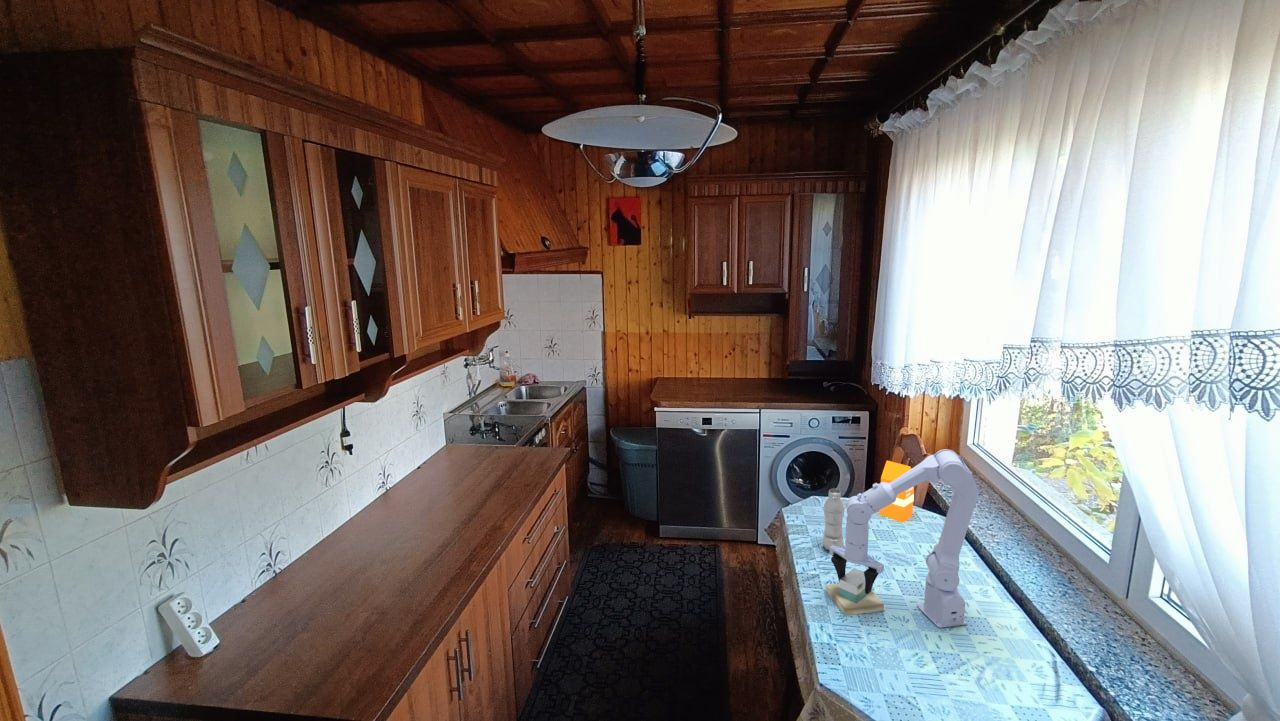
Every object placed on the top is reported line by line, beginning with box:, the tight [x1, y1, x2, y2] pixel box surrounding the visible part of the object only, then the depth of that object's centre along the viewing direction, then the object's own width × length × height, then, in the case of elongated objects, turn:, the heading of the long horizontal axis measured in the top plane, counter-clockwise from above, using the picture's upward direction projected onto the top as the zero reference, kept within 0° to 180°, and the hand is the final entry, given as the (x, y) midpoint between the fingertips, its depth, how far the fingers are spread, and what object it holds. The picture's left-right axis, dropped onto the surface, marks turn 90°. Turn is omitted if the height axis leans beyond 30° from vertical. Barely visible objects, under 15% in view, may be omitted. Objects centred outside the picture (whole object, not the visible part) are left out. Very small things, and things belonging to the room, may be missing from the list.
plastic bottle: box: [822, 488, 846, 552], centre depth 179 cm, size 6×7×20 cm
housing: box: [839, 567, 867, 604], centre depth 153 cm, size 8×5×5 cm, turn 132°
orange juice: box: [878, 460, 915, 524], centre depth 200 cm, size 8×9×20 cm
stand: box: [825, 582, 885, 616], centre depth 153 cm, size 11×11×2 cm
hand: (854, 586), depth 153 cm, fingers open, 7 cm apart
